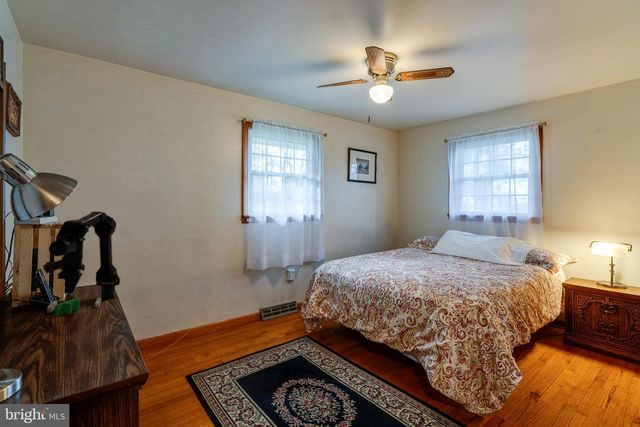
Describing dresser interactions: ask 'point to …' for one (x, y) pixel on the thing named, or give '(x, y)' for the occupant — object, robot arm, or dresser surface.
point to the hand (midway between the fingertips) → (70, 292)
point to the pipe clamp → (67, 307)
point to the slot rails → (52, 305)
